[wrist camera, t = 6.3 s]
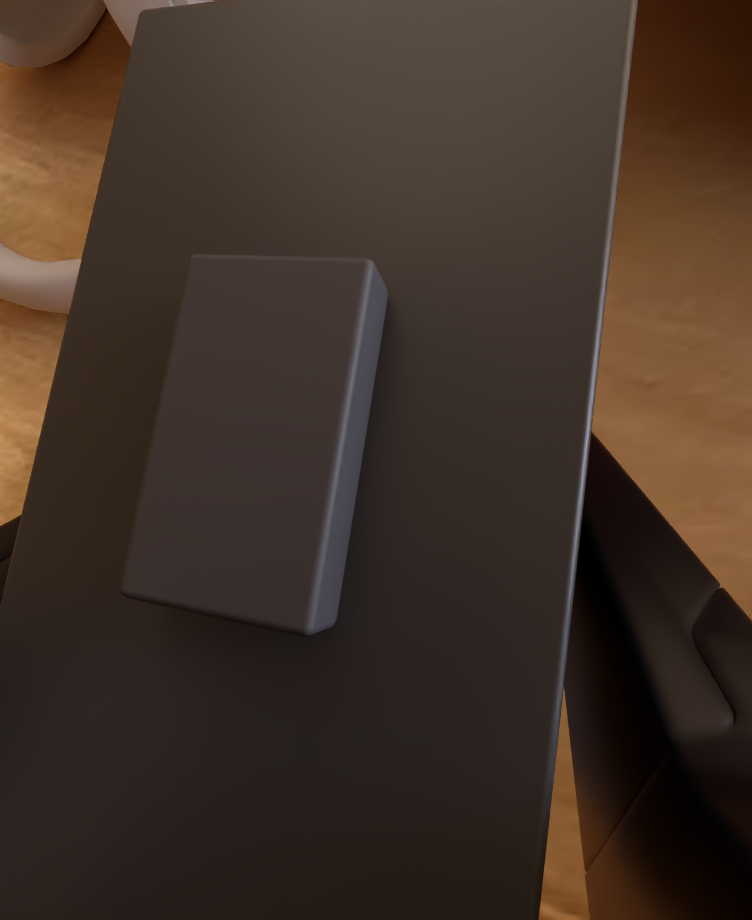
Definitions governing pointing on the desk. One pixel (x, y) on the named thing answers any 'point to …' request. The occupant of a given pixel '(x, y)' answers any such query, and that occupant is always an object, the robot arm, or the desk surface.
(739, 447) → the desk surface
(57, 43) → the headphones
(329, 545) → the battery pack
